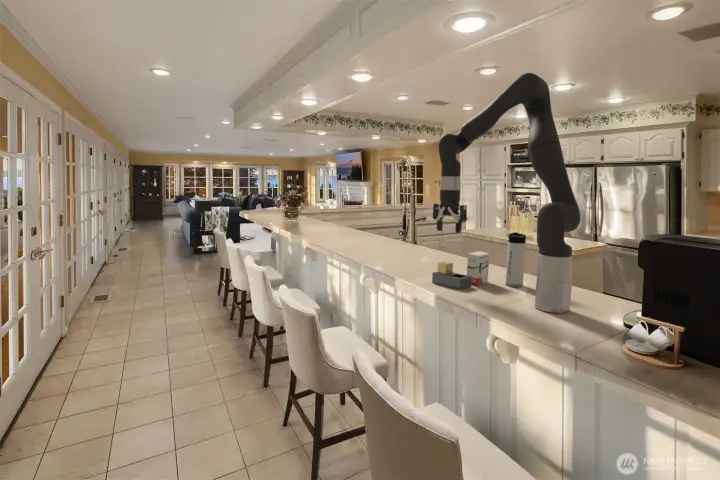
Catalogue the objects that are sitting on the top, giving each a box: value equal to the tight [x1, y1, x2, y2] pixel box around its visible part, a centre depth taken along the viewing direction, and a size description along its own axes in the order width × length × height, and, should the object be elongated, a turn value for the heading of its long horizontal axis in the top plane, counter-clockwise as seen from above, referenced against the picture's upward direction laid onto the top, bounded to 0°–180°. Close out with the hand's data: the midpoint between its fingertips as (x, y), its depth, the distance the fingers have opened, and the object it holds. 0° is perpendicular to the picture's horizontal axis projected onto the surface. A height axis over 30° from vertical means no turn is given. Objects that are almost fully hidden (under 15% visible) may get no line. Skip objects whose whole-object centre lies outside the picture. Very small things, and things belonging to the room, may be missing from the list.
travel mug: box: [505, 232, 527, 288], centre depth 157 cm, size 6×7×20 cm
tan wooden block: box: [437, 261, 454, 275], centre depth 159 cm, size 4×4×8 cm
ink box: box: [466, 250, 491, 286], centre depth 161 cm, size 8×5×12 cm, turn 134°
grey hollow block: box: [431, 271, 472, 291], centre depth 157 cm, size 13×7×4 cm, turn 40°
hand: (448, 231), depth 157 cm, fingers open, 8 cm apart
